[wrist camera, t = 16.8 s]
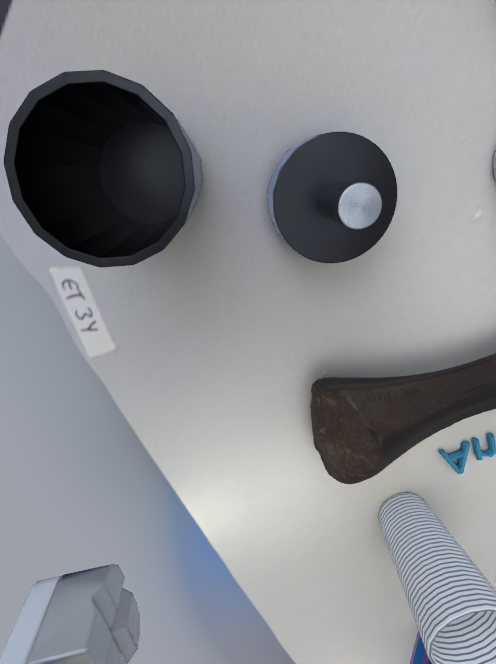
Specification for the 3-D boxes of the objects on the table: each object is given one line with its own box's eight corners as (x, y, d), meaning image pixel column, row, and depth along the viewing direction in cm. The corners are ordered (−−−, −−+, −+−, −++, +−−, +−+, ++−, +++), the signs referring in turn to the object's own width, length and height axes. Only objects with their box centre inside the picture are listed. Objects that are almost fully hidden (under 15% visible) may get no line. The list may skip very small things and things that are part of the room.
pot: (104, 231, 38) (30, 272, 22) (85, 119, 35) (-19, 75, 19) (206, 224, 38) (202, 260, 23) (196, 112, 35) (182, 65, 20)
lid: (274, 264, 36) (287, 285, 30) (269, 136, 33) (283, 127, 26) (388, 256, 37) (426, 274, 30) (395, 129, 33) (440, 118, 27)
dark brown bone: (299, 421, 48) (518, 336, 51) (340, 511, 42) (592, 408, 44) (289, 367, 40) (551, 267, 42) (339, 467, 33) (649, 343, 35)
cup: (443, 483, 51) (536, 608, 36) (426, 538, 54) (506, 674, 39) (375, 482, 50) (441, 609, 35) (361, 538, 53) (417, 676, 38)
